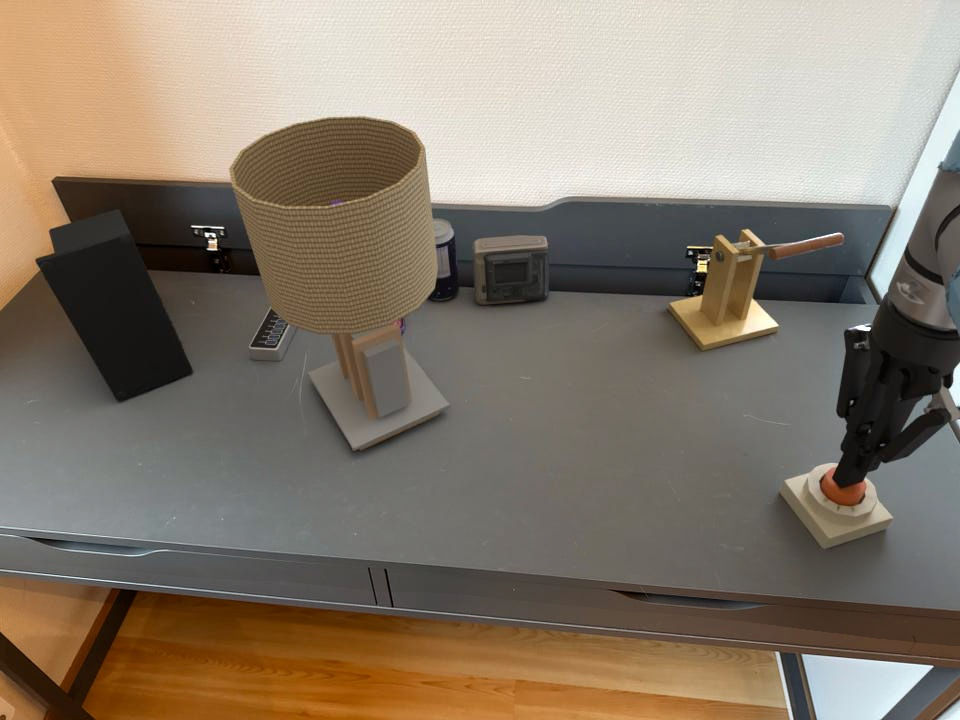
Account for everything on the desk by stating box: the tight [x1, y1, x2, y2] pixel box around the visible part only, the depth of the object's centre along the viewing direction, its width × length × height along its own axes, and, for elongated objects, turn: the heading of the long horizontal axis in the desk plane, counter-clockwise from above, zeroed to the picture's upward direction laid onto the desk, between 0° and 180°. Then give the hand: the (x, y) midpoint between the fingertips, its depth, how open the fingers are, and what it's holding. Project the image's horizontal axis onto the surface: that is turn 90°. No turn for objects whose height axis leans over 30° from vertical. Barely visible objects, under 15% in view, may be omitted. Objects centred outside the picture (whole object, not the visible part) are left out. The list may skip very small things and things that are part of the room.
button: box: [822, 467, 866, 506], centre depth 76 cm, size 4×4×2 cm
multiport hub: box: [248, 306, 298, 362], centre depth 106 cm, size 4×14×2 cm, turn 172°
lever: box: [731, 232, 845, 262], centre depth 88 cm, size 16×9×2 cm
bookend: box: [34, 208, 194, 402], centre depth 98 cm, size 23×11×24 cm, turn 31°
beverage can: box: [428, 218, 460, 301], centre depth 107 cm, size 6×6×12 cm
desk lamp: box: [228, 115, 451, 452], centre depth 82 cm, size 20×20×35 cm
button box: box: [778, 462, 894, 550], centre depth 77 cm, size 8×8×4 cm
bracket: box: [667, 228, 780, 352], centre depth 98 cm, size 10×12×14 cm
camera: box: [471, 234, 550, 306], centre depth 106 cm, size 11×6×10 cm, turn 92°
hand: (847, 479), depth 75 cm, fingers closed
